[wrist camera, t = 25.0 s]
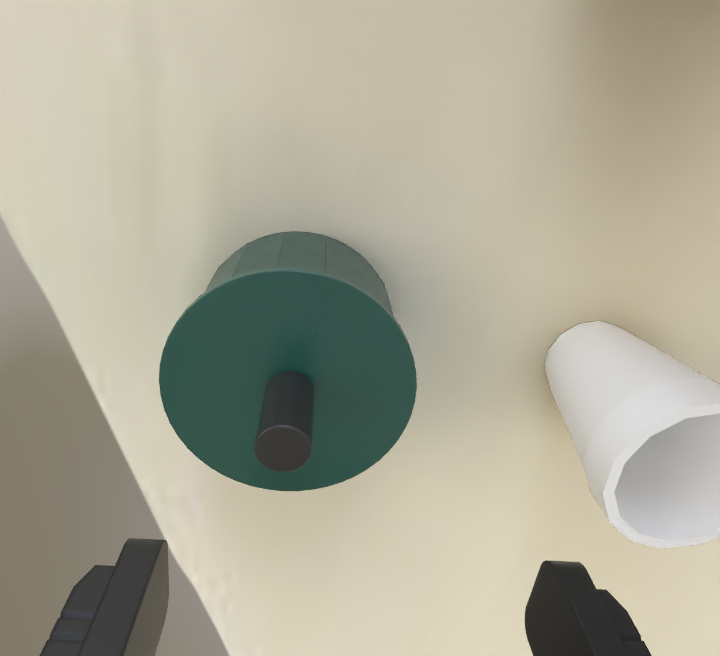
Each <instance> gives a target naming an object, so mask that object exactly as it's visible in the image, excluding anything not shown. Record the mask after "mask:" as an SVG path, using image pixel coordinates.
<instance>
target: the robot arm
mask: <svg viewBox="0 0 720 656" xmlns="http://www.w3.org/2000/svg"><path fill="white" fill-rule="evenodd" d="M168 598H169V574H168V544H167V541H166V540H152V539H133V538H129V539H128V540H127V541H126V543H125V545H124V547H123V549H122V551H121V554H120V556H119V558H118V561H117V563H116V565H115V566H103V565H101V566H100V565H95V566H94V567H93V568H92V569H91V570H90V571H89V572H88V573H87V574H86V575H85V576H84V577H83V579H81V580H80V581H79V582H78V583H77V584H76V585H75V586H74V587H73V589H72V591H71V593H70V595H69V597H68V599H67V601H66V604H65V606H64V607H63V610H62V612H61V616H60V618H58V620H57V622H56V624H55V626H54V628H53V630H52V632H51V634H50V638H49V640H47V642H46V644H45V646H44V648H43V650H42V652H41V654H40V656H155V653H156V649H157V646H158V643H159V639H160V636H161V633H162V629H163V625H164V622H165V618H166V613H167V607H168ZM525 629H526V634H527V638H528V642H529V645H530V647H531V650H532V653H533V656H651V654H650V652H649V650H648V648H647V647H646V645H645V643H644V641H641V636H640V634H639V632H638V630H637V628H636V627H635V625H634V623H633V621H632V619H631V618H630V616H629V614H628V612H627V611H626V610H625V609H624V608H623V607H622V606H621V605H620V604H619V602H618V601H617V600H616V599H615V598H614V597H613V596H612V595H611V594H610V593H609V592H608V591H607V590H601V589H596V587H595V586H594V584H593V582H592V580H591V578H590V576H589V574H588V572H587V570H586V568H585V567H584V566H583V565H582V564H581V563H579V562H565V561H544V562H543V563H542V564H541V567H540V569H539V572H538V575H537V578H536V581H535V584H534V586H533V589H532V592H531V595H530V598H529V601H528V603H527V606H526V611H525Z"/></svg>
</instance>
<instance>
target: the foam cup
mask: <svg viewBox="0 0 720 656" xmlns="http://www.w3.org/2000/svg"><path fill="white" fill-rule="evenodd" d="M544 368H545V372H546V376H547V380H548V383H549V385H550V388H551V391H552V393H553V395H554V398H555V400H556V402H557V405H558V407H559V409H560V412H561V414H562V417H563V419H564V421H565V424H566V426H567V428H568V431H569V433H570V435H571V438H572V440H573V443H574V445H575V447H576V450H577V452H578V454H579V457H580V459H581V461H582V464H583V466H584V468H585V471H586V475H587V479H588V484H589V488H590V492H591V493H592V495H593V497H594V498H595V500H596V501H597V503H598V505H599V506H600V508H601V509H602V511H603V513H604V514H605V516H606V517H607V519H608V521H609V522H610V523H611V524H612V525H613V526H614V527H616V528H617V529H618V530H619V531H620V532H621V533H622V534H624V535H625V536H626V537H627V538H628V539H629V540H630V541H632V542H636V543H640V544H645V545H649V546H654V547H658V548H662V549H669V548H676V547H684V546H691V545H698V544H704V543H706V542H708V541H710V540H713V539H715V538H717V537H719V536H720V384H719V383H716V382H715V381H713V380H711V379H709V378H708V377H706V376H704V375H702V374H701V373H699V372H697V371H695V370H694V369H692V368H690V367H688V366H687V365H685V364H683V363H681V362H680V361H678V360H676V359H674V358H673V357H671V356H669V355H667V354H665V353H664V352H662V351H660V350H658V349H657V348H655V347H653V346H651V345H650V344H648V343H646V342H644V341H643V340H641V339H639V338H637V337H636V336H634V335H632V334H630V333H629V332H627V331H625V330H623V329H621V328H619V327H617V326H615V325H612V324H608V323H605V322H602V321H595V322H587V323H580V324H578V325H576V326H574V327H573V328H571V329H569V330H567V331H566V332H564V333H562V334H561V335H560V336H559V337H558V339H557V340H556V341H555V342H554V344H553V345H552V346H551V347H550V348H549V350H548V354H547V358H546V362H545V365H544Z"/></svg>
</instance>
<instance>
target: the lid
mask: <svg viewBox="0 0 720 656" xmlns="http://www.w3.org/2000/svg"><path fill="white" fill-rule="evenodd" d="M159 384H160V394H161V398H162V402H163V406H164V410H165V412H166V414H167V417H168V419H169V422H170V424H171V425H172V427H173V429H174V430H175V432H176V434H177V435H178V437H179V438H180V439H181V440H182V442H183V443H184V444H185V445H186V447H187V448H188V449H189V450H190V451H191V452H192V453H193V454H194V455H195V456H196V457H197V458H199V459H200V460H201V461H203V462H204V463H205V464H207V465H208V466H209V467H211V468H212V469H214V470H216V471H217V472H219V473H221V474H222V475H225V476H227V477H229V478H231V479H233V480H236V481H238V482H241V483H244V484H247V485H250V486H254V487H259V488H263V489H269V490H278V491H303V490H313V489H318V488H323V487H327V486H331V485H334V484H337V483H340V482H343V481H345V480H347V479H350V478H352V477H354V476H356V475H358V474H360V473H361V472H363V471H365V470H367V469H368V468H369V467H371V466H372V465H374V464H375V463H376V462H378V461H379V460H380V459H381V458H382V457H383V456H384V455H385V454H386V453H387V452H388V451H389V450H390V449H391V448H392V447H393V445H394V444H395V443H396V442H397V441H398V439H399V438H400V436H401V434H402V433H403V431H404V429H405V428H406V425H407V423H408V421H409V419H410V416H411V414H412V410H413V406H414V403H415V397H416V388H417V382H416V369H415V363H414V358H413V355H412V352H411V349H410V346H409V343H408V340H407V338H406V336H405V334H404V332H403V331H402V329H401V327H400V325H399V324H398V323H397V321H396V320H395V318H394V317H393V316H392V314H391V313H390V312H389V311H388V310H387V309H386V308H385V307H384V306H383V305H382V304H381V303H380V302H379V301H378V300H377V299H376V298H374V297H373V296H372V295H371V294H369V293H368V292H367V291H365V290H363V289H362V288H360V287H358V286H357V285H355V284H353V283H352V282H349V281H347V280H345V279H343V278H340V277H338V276H336V275H332V274H329V273H326V272H322V271H319V270H313V269H307V268H301V267H273V268H263V269H258V270H254V271H249V272H245V273H242V274H240V275H237V276H234V277H231V278H229V279H227V280H225V281H223V282H221V283H219V284H217V285H215V286H213V287H212V288H210V289H209V290H208V291H206V292H205V293H203V294H202V295H200V296H199V297H198V298H197V299H196V300H195V301H194V302H193V303H192V304H191V305H190V306H189V307H188V308H187V309H186V310H185V312H184V313H183V314H182V315H181V317H180V318H179V319H178V321H177V322H176V324H175V326H174V328H173V329H172V331H171V333H170V335H169V336H168V339H167V342H166V344H165V347H164V349H163V353H162V358H161V362H160V372H159Z"/></svg>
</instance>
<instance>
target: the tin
mask: <svg viewBox="0 0 720 656" xmlns="http://www.w3.org/2000/svg"><path fill="white" fill-rule="evenodd" d="M273 267H301V268H307V269H313V270H319V271H322V272H326V273H329V274H332V275H336V276H338V277H340V278H343V279H345V280H347V281H349V282H352V283H353V284H355V285H357V286H358V287H360V288H362V289H363V290H365V291H367V292H368V293H369V294H371V295H372V296H373V297H374V298H376V299H377V300H378V301H379V302H380V303H381V304H382V305H383V306H384V307H385V308H386V309H387V310H388V311H389V312H390V313H391V314H392V316H393V313H392V310H391V306H390V302H389V299H388V295H387V292H386V288H385V284H384V283H383V281H382V280H381V279H380V277H379V276H378V274H377V273H376V272H375V270H374V269H373V267H372V266H371V265H370V264H369V263H368V262H367V261H366V260H365V259H364V258H363V257H362V256H361V255H360V254H358V253H357V252H356V251H355V250H353V249H352V248H350V247H348V246H347V245H345V244H344V243H341V242H339V241H337V240H335V239H333V238H330V237H326V236H323V235H320V234H314V233H309V232H283V233H277V234H272V235H268V236H265V237H262V238H259V239H256V240H254V241H252V242H250V243H247V244H246V245H245V246H243V247H242V248H240V249H239V250H238V251H236V252H235V253H234V254H233V255H231V256H230V257H229V258H228V259H227V260H226V261H225V262H224V263H223V264H222V265H220V266H219V268H218V269H217V271H216V273H215V274H214V276H213V278H212V280H211V282H210V283H209V285H208V287H207V289H206V291H208V290H209V289H210V288H212V287H213V286H215V285H217V284H219V283H221V282H223V281H225V280H227V279H229V278H231V277H234V276H237V275H240V274H242V273H245V272H249V271H254V270H258V269H263V268H273ZM206 291H205V292H206ZM205 292H204V293H205Z"/></svg>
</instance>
